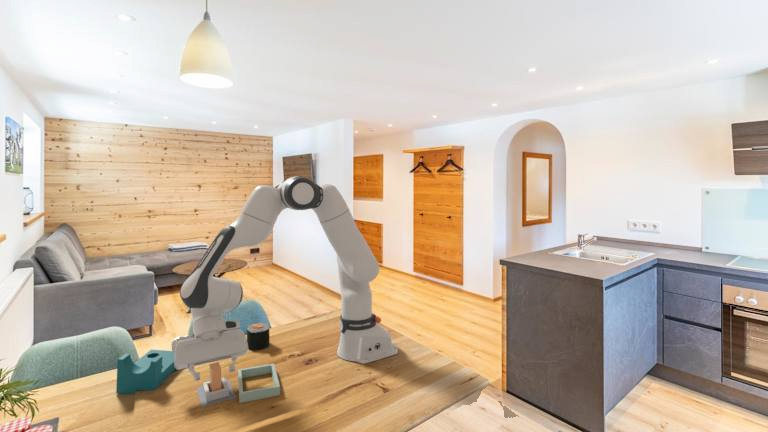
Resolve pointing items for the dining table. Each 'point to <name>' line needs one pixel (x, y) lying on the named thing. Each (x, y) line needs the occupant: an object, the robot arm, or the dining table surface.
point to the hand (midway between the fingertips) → (215, 375)
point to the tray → (260, 392)
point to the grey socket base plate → (215, 393)
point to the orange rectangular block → (215, 377)
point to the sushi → (258, 336)
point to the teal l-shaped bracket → (144, 371)
